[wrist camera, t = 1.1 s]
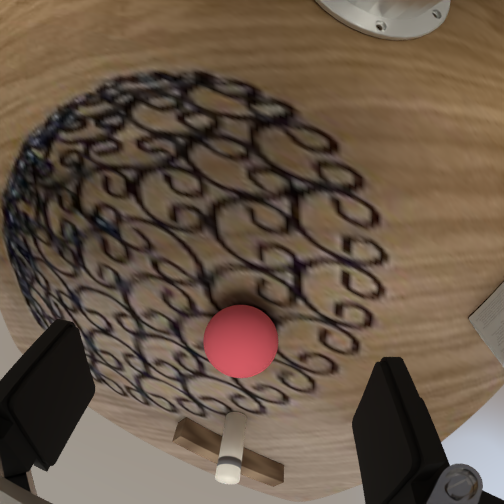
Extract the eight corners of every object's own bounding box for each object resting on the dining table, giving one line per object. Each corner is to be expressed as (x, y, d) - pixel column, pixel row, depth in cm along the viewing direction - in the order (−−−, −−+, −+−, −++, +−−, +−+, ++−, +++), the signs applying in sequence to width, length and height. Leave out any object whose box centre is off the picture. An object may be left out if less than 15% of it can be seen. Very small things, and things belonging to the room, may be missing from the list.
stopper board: (177, 423, 35) (172, 441, 32) (186, 417, 34) (180, 436, 31) (274, 469, 38) (273, 486, 35) (283, 465, 37) (283, 482, 34)
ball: (211, 287, 27) (195, 328, 22) (282, 295, 27) (283, 338, 21) (210, 343, 29) (197, 387, 24) (274, 350, 29) (272, 396, 24)
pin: (225, 410, 33) (214, 472, 25) (247, 412, 33) (240, 475, 25) (225, 422, 34) (214, 482, 26) (246, 425, 34) (239, 485, 26)
